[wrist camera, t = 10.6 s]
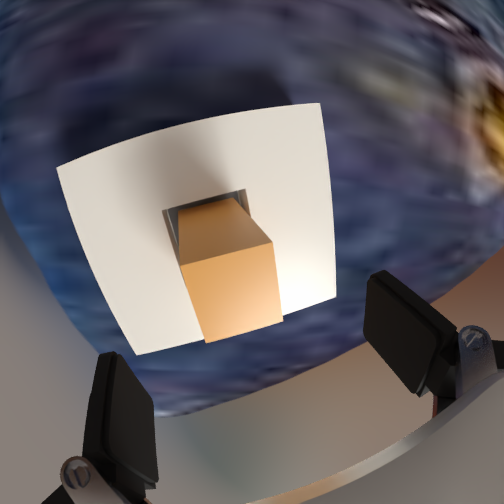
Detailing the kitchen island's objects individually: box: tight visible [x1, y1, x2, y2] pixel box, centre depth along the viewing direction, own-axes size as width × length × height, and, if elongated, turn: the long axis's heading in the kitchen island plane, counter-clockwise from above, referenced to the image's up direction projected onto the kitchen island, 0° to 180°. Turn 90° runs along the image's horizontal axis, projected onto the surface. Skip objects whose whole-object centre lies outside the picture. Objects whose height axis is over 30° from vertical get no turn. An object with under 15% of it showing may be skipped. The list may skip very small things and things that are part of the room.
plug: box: [178, 198, 283, 343], centre depth 17 cm, size 4×4×10 cm
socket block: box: [57, 103, 336, 355], centre depth 21 cm, size 16×18×4 cm
